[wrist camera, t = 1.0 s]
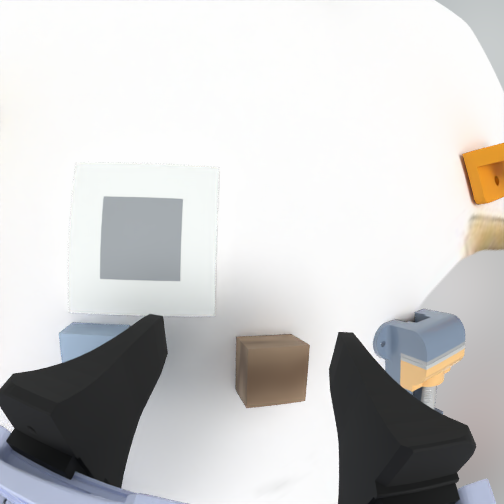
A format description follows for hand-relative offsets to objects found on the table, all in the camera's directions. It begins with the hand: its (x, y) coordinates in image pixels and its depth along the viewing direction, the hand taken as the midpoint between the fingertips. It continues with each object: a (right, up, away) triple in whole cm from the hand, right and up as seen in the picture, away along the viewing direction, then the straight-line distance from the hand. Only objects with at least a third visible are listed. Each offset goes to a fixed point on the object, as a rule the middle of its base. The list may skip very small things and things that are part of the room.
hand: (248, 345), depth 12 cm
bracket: (+34, +15, +24) cm, 45 cm away
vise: (+18, -12, +20) cm, 29 cm away
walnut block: (+1, -6, +15) cm, 16 cm away
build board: (-9, +5, +12) cm, 15 cm away
